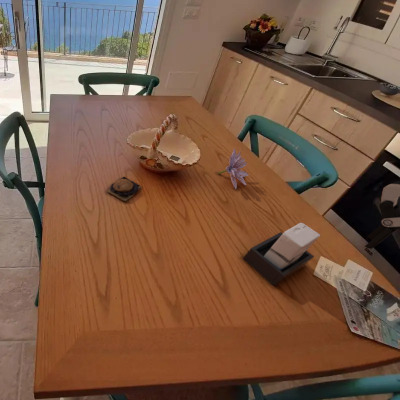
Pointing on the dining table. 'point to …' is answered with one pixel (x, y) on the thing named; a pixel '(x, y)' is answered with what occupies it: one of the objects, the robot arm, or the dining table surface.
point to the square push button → (124, 189)
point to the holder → (266, 267)
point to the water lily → (236, 168)
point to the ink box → (291, 246)
